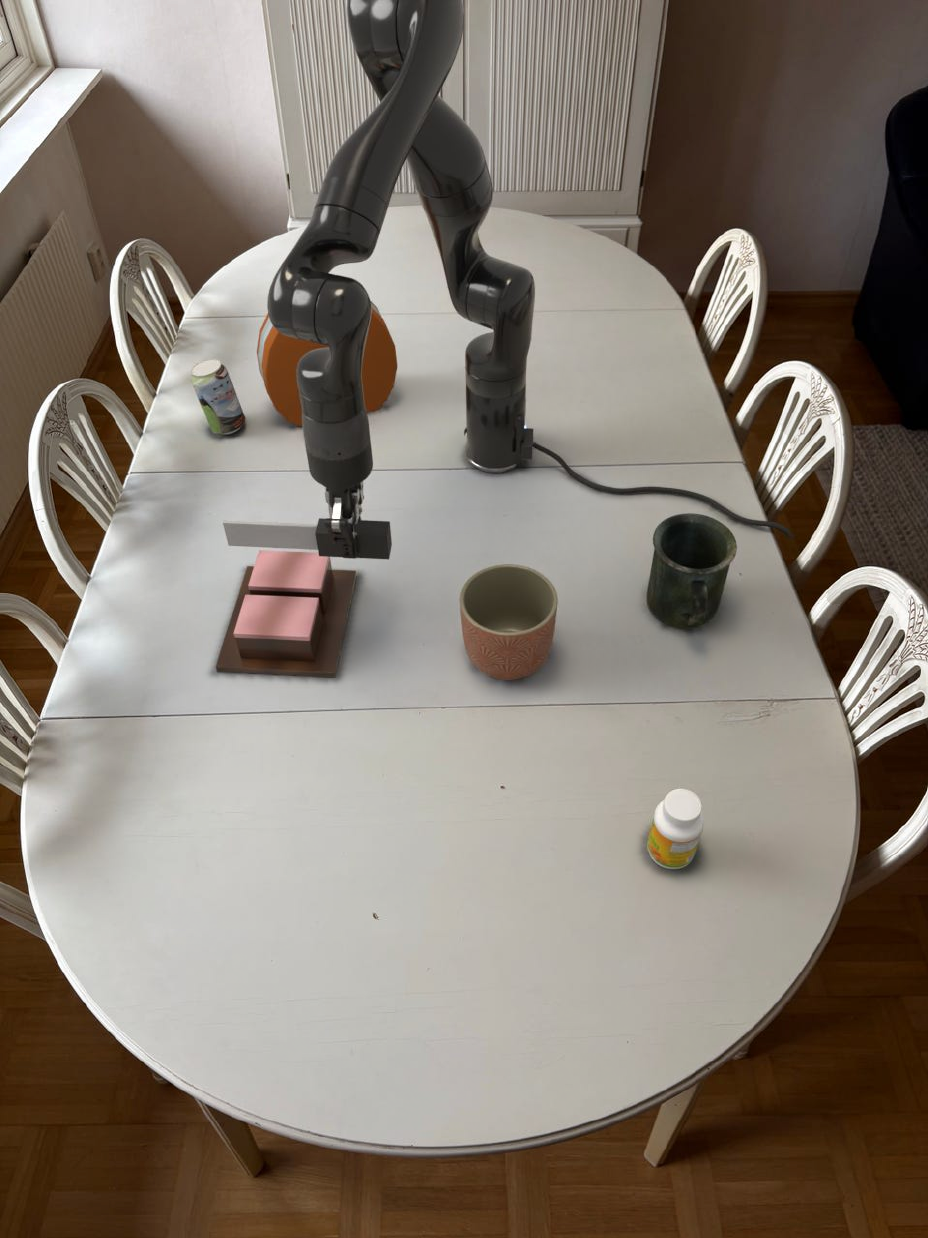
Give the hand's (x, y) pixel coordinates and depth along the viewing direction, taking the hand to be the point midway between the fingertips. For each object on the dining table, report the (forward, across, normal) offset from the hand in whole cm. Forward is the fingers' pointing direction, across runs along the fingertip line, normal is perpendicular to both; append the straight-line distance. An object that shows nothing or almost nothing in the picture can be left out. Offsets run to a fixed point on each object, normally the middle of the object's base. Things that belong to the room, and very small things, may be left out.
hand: (352, 546), depth 127 cm
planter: (+15, -4, -20) cm, 26 cm away
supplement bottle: (+15, -32, -40) cm, 54 cm away
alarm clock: (+15, +51, +13) cm, 55 cm away
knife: (+1, 0, +6) cm, 6 cm away
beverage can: (+15, +43, +30) cm, 54 cm away
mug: (+15, +5, -44) cm, 47 cm away
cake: (+15, 0, +10) cm, 18 cm away
